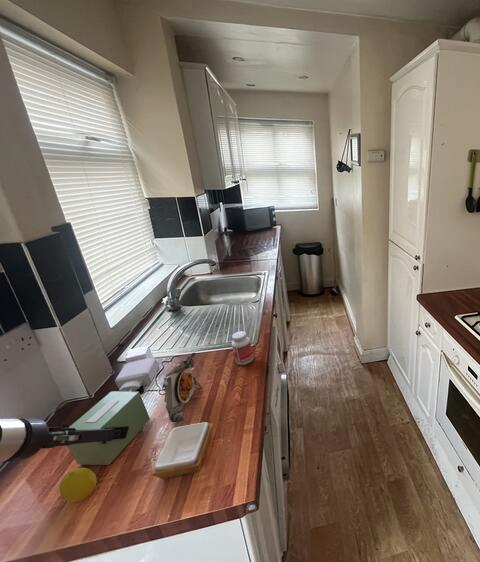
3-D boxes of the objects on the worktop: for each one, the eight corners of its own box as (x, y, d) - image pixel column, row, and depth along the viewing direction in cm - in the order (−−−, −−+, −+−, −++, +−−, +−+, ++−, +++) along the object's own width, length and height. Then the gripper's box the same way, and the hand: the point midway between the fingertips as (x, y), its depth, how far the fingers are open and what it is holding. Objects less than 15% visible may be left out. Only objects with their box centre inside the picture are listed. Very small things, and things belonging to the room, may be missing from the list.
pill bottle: (257, 356, 115) (251, 330, 111) (247, 366, 109) (241, 340, 105) (242, 354, 116) (236, 329, 112) (232, 364, 110) (225, 338, 106)
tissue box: (77, 464, 75) (60, 434, 71) (123, 418, 88) (110, 390, 84) (108, 465, 74) (93, 434, 70) (150, 419, 87) (139, 391, 83)
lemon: (64, 514, 65) (47, 489, 62) (75, 490, 69) (60, 465, 66) (96, 503, 67) (82, 478, 64) (105, 480, 71) (92, 456, 68)
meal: (187, 421, 87) (174, 384, 82) (171, 423, 86) (157, 386, 81) (205, 385, 101) (195, 351, 96) (191, 386, 100) (180, 353, 95)
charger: (111, 403, 94) (129, 374, 107) (146, 395, 97) (159, 367, 110) (105, 391, 92) (124, 362, 105) (141, 383, 95) (155, 356, 108)
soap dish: (176, 439, 81) (171, 425, 79) (216, 432, 83) (211, 418, 81) (155, 485, 70) (148, 470, 68) (202, 476, 72) (196, 461, 70)
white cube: (130, 372, 108) (124, 358, 106) (134, 363, 113) (129, 349, 111) (150, 367, 110) (145, 353, 108) (153, 358, 115) (148, 345, 113)
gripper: (-54, 462, 57) (65, 447, 78) (52, 464, 56) (144, 449, 77) (-33, 418, 60) (77, 415, 81) (68, 419, 59) (152, 416, 80)
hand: (109, 431), depth 79 cm, fingers closed on tissue box, 8 cm apart
